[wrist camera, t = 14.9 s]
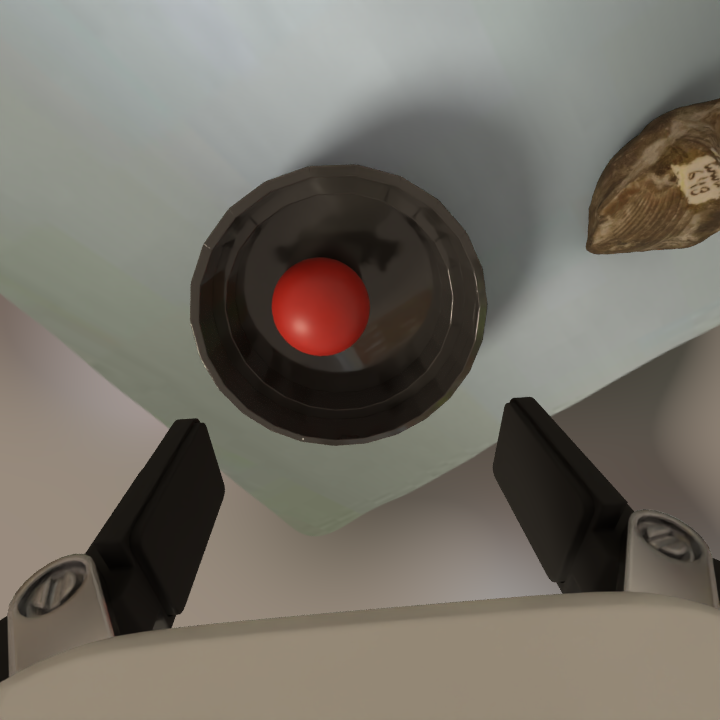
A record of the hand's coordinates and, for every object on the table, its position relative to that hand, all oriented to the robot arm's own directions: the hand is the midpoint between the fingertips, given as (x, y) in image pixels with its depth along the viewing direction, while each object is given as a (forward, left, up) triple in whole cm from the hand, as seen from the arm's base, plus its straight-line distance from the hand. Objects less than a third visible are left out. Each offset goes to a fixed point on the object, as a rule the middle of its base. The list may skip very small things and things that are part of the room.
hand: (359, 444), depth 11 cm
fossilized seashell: (-20, -7, -16) cm, 26 cm away
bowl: (0, 0, -16) cm, 16 cm away
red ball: (+1, -1, -12) cm, 12 cm away
